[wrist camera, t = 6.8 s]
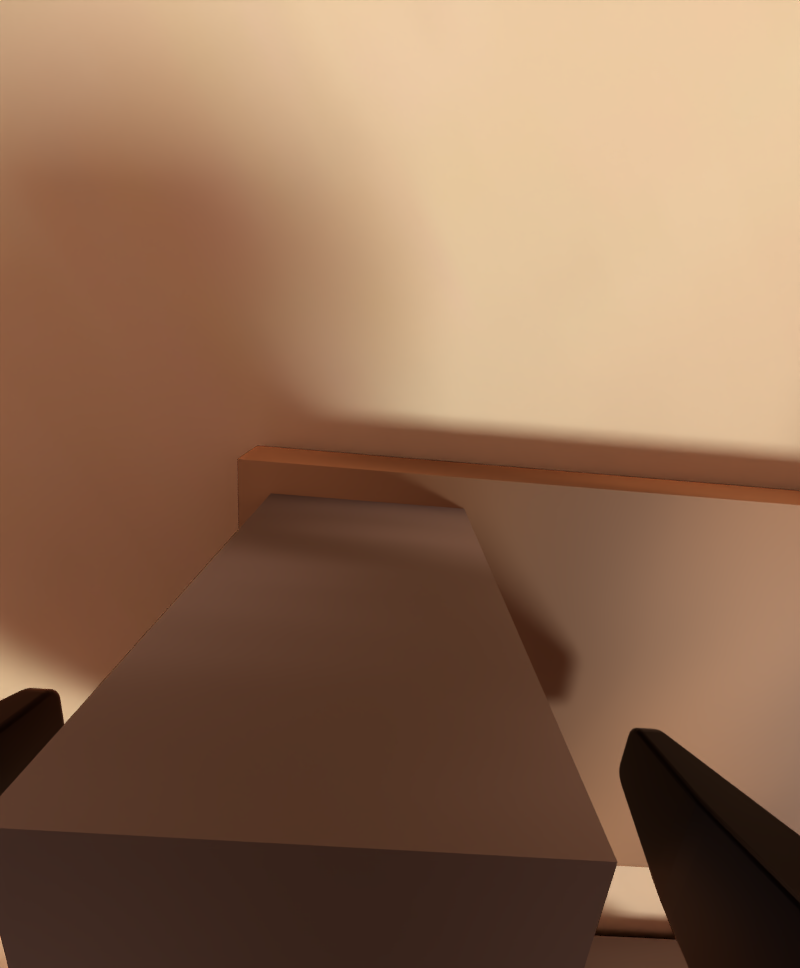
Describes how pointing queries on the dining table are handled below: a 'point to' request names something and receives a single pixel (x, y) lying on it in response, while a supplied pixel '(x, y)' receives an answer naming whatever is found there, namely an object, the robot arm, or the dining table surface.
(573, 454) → the dining table surface
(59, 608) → the dining table surface
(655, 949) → the grey piece
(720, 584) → the walnut strip
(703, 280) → the dining table surface
